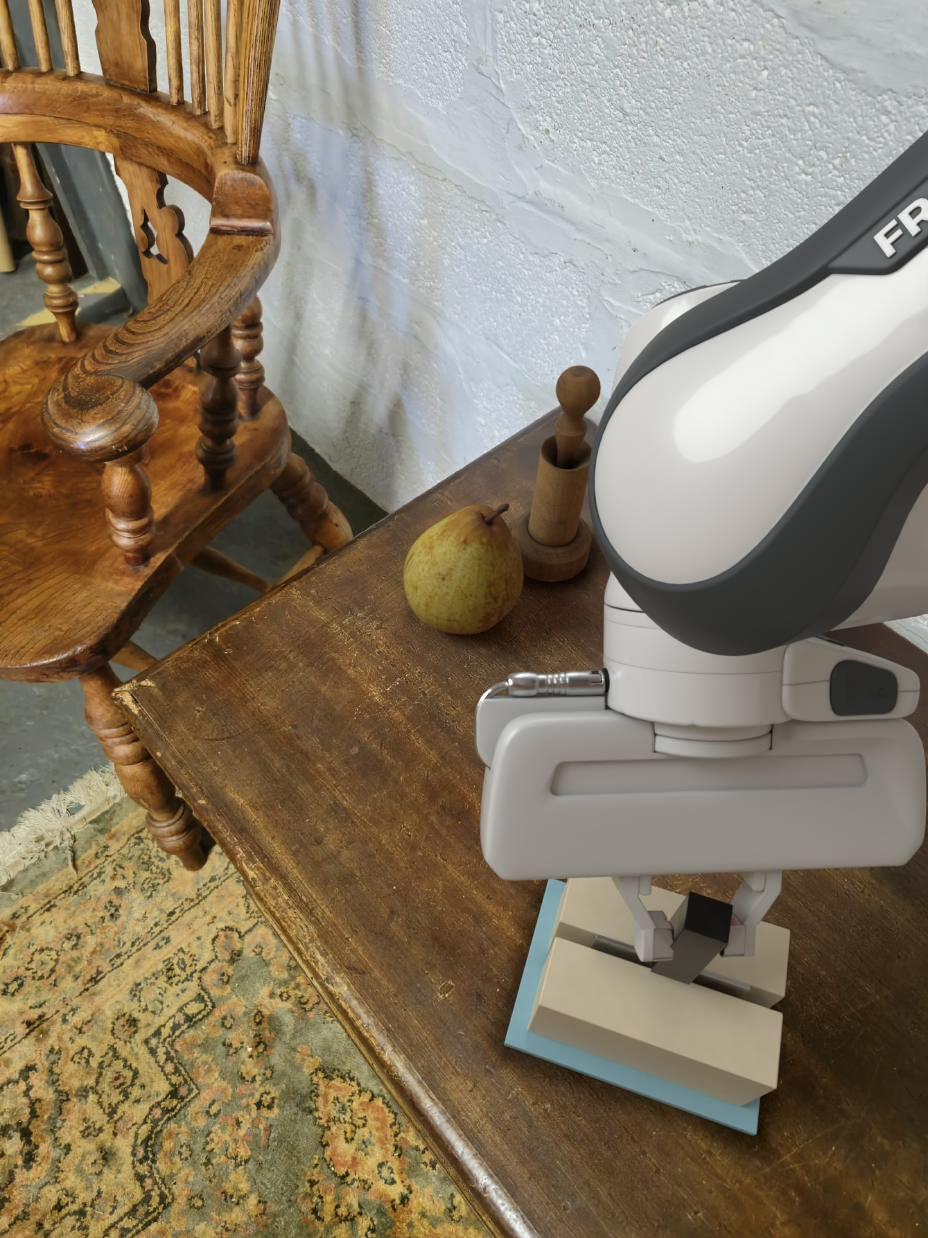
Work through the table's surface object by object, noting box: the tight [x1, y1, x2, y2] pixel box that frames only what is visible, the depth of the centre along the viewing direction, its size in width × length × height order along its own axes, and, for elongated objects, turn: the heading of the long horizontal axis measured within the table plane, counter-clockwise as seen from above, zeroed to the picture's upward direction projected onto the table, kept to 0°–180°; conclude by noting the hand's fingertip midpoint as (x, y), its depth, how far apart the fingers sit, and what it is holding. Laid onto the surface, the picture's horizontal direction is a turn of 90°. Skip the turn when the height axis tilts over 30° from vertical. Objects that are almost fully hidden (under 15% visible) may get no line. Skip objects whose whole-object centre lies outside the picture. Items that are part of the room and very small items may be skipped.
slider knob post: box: [590, 891, 750, 999], centre depth 43 cm, size 8×2×13 cm, turn 72°
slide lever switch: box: [503, 877, 791, 1137], centre depth 47 cm, size 14×10×7 cm
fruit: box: [402, 503, 525, 635], centre depth 62 cm, size 9×9×12 cm
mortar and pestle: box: [511, 364, 602, 583], centre depth 63 cm, size 7×6×18 cm
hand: (693, 953), depth 40 cm, fingers closed on slider knob post, 2 cm apart
